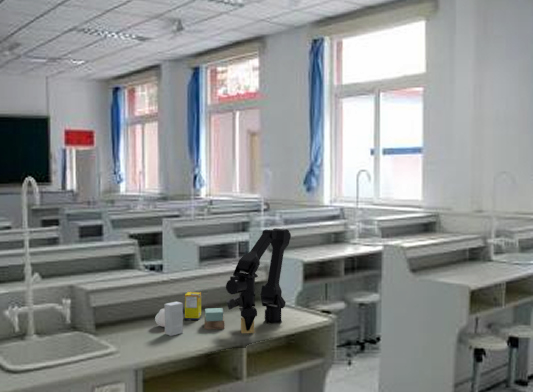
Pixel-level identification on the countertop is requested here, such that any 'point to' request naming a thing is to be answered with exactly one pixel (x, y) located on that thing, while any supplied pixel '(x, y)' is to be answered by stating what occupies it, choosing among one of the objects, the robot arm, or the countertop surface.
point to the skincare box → (173, 318)
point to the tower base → (214, 324)
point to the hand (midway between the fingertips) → (247, 328)
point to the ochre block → (243, 327)
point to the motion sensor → (160, 318)
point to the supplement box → (192, 305)
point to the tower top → (214, 314)
